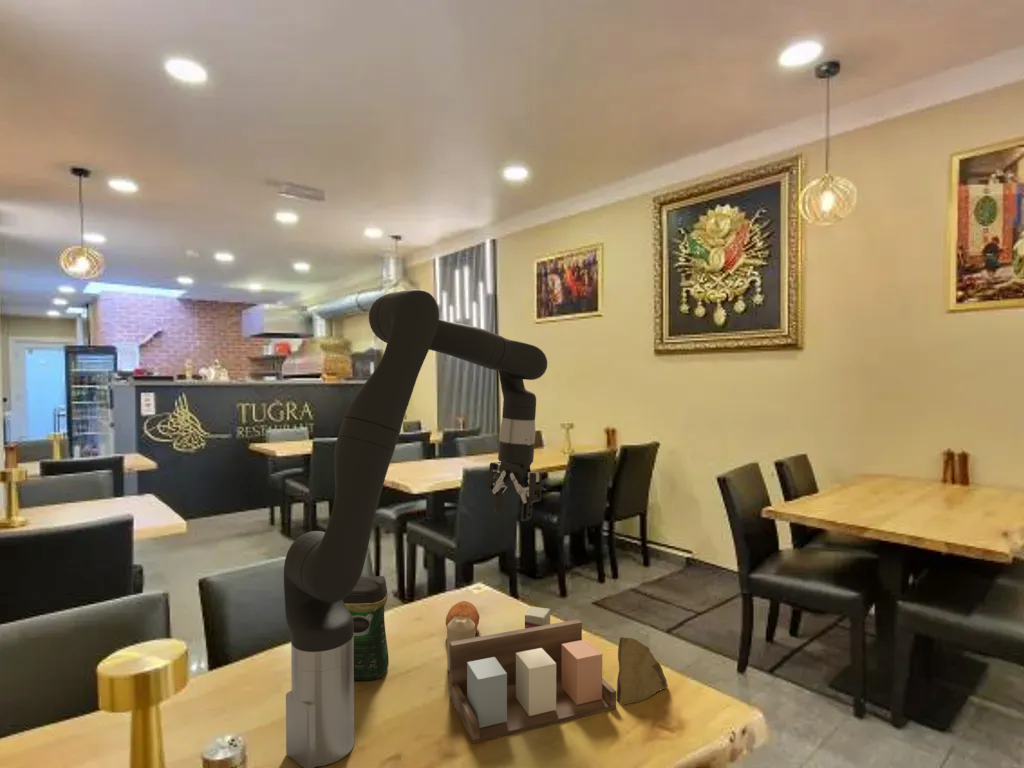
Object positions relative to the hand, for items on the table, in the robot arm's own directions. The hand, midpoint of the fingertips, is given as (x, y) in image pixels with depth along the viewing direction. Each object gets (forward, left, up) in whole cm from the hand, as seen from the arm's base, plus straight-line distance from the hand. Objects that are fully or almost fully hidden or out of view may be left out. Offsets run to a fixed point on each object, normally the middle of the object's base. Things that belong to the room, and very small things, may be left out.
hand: (511, 515), depth 123 cm
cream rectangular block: (-15, -18, -28) cm, 36 cm away
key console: (-15, -16, -28) cm, 35 cm away
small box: (+2, -5, -28) cm, 29 cm away
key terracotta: (-8, -22, -28) cm, 36 cm away
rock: (0, -30, -28) cm, 41 cm away
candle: (-14, +2, -28) cm, 31 cm away
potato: (-3, +12, -28) cm, 31 cm away
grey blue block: (-23, -13, -28) cm, 39 cm away
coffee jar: (-27, +16, -28) cm, 42 cm away
